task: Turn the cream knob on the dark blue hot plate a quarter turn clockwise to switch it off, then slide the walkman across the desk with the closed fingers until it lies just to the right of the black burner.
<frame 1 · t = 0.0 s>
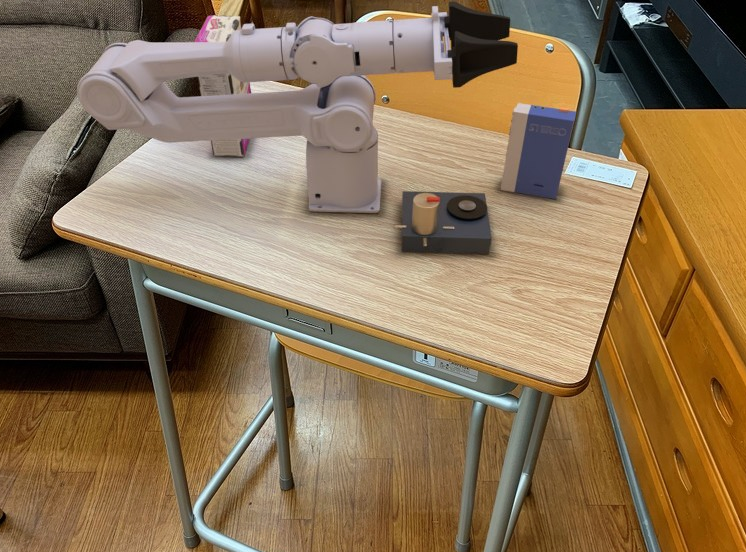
hand: (513, 39, 76), 22 cm above the table, tool horizontal, fingers open, 7 cm apart
burner: (466, 209, 85), resting on hot plate
candy bar box: (234, 140, 102), on the table
knob: (425, 213, 81), point 5 cm above the table, hinge at 0.0°
hot plate: (443, 229, 86), on the table
walkman: (529, 191, 93), on the table
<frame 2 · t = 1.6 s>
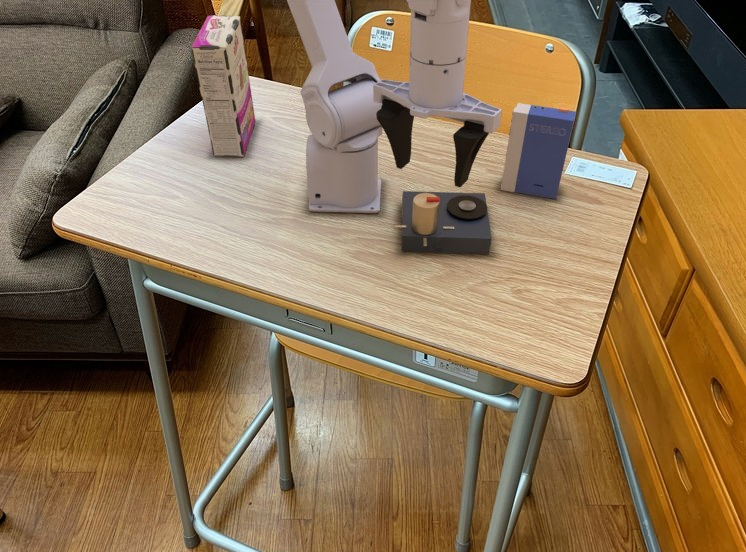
hand: (431, 173, 76), 10 cm above the table, tool pointing down, fingers open, 7 cm apart
nothing on the table moved.
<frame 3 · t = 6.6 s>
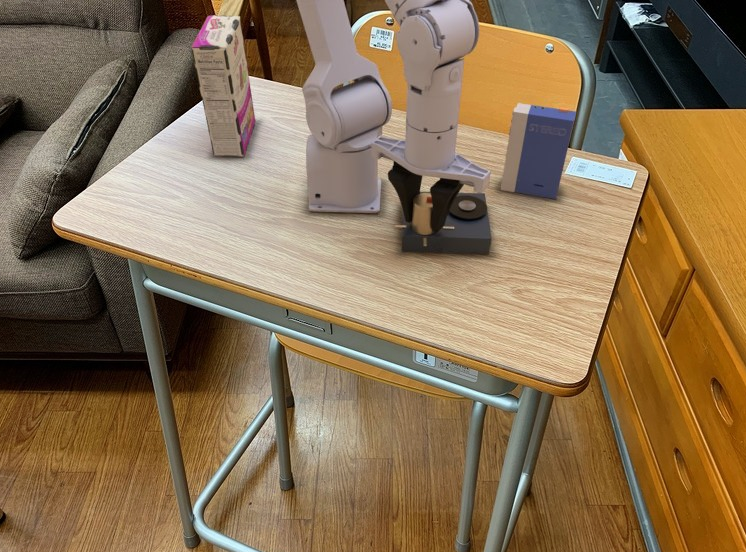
hand: (425, 223, 82), 3 cm above the table, tool pointing down, fingers closed on knob, 3 cm apart
knob: (425, 213, 81), point 5 cm above the table, hinge at 0.0°, touching gripper
everything else where it was.
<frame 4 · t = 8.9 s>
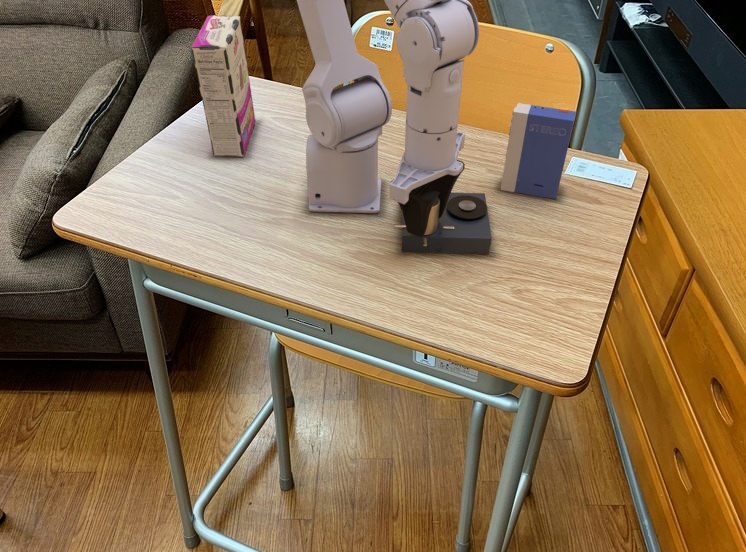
hand: (424, 224, 82), 3 cm above the table, tool pointing down, fingers open, 4 cm apart
knob: (425, 213, 81), point 5 cm above the table, hinge at -88.6°
everything else where it was.
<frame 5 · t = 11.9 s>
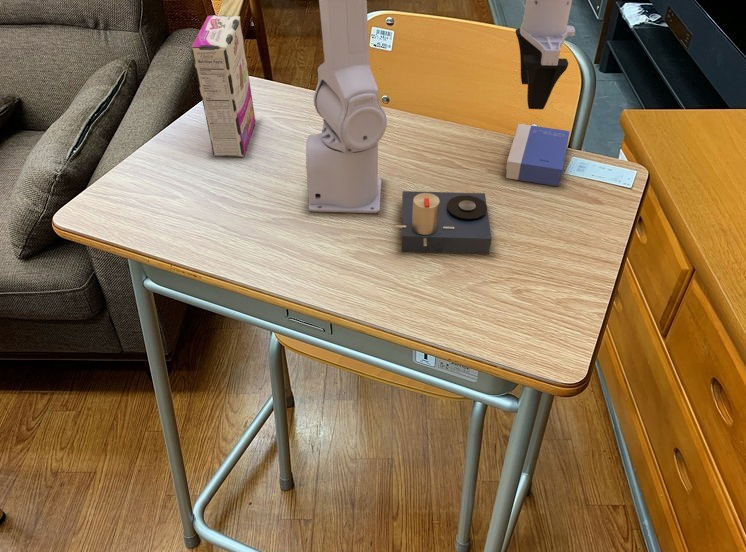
hand: (532, 95, 93), 9 cm above the table, tool pointing down, fingers open, 7 cm apart
walkman: (533, 174, 93), point 1 cm above the table
everything else where it was.
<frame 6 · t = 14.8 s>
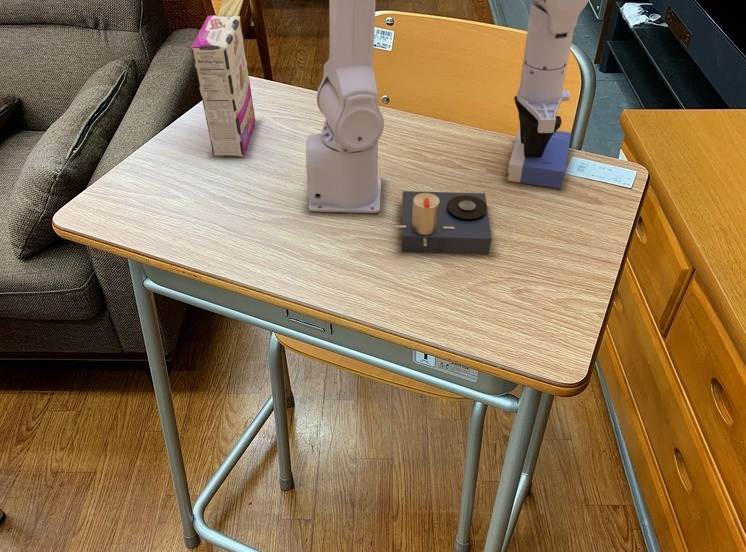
hand: (530, 153, 96), 2 cm above the table, tool pointing down, fingers closed on walkman, 3 cm apart
walkman: (535, 176, 93), point 1 cm above the table, touching gripper
everything else where it was.
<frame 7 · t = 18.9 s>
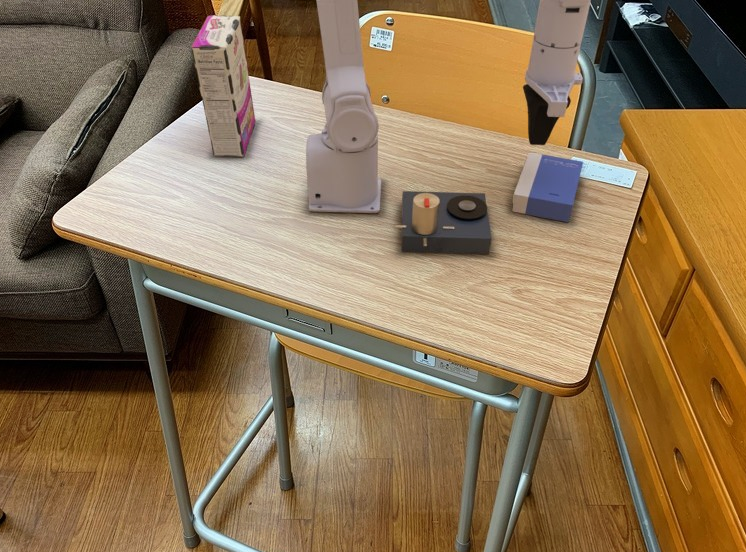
hand: (536, 142, 89), 7 cm above the table, tool pointing down, fingers closed
walkman: (541, 209, 87), point 1 cm above the table
everything else where it was.
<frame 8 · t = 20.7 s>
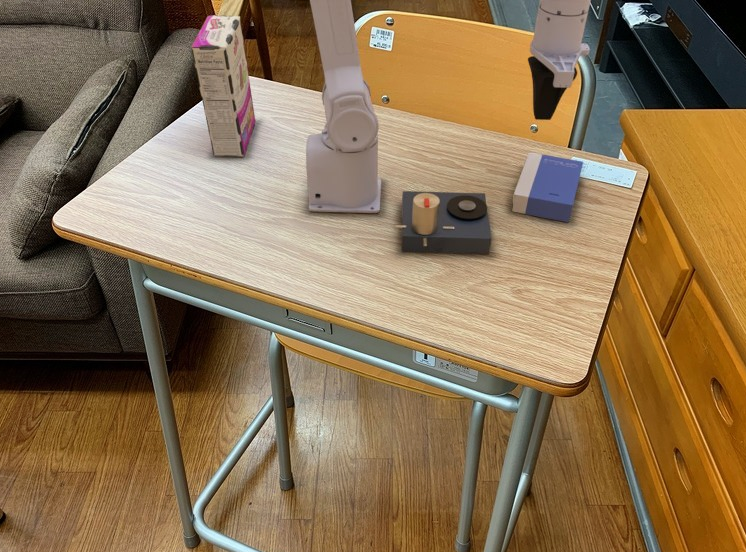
hand: (542, 117, 87), 10 cm above the table, tool pointing down, fingers closed
nothing on the table moved.
at the end: knob at -89° (first picture: +0°); walkman inside the target area (2.6 cm from its centre), point 1.5 cm above the table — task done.
